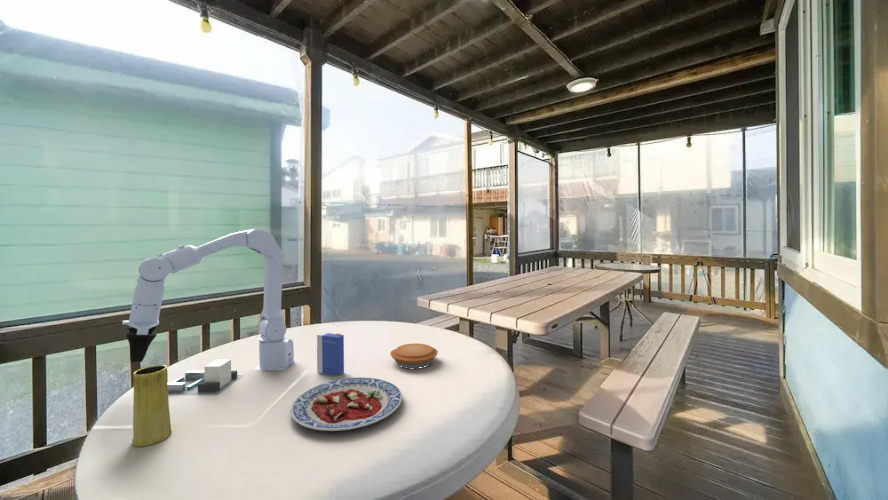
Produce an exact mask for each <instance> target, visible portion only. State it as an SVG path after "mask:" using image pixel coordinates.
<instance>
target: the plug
mask: <svg viewBox="0 0 888 500" xmlns="http://www.w3.org/2000/svg"><path fill="white" fill-rule="evenodd" d="M203 371H205V382H220V388H221V387H223V386H224V385H225V384H227V383H228V382H230V381H231V371H232V360H231V359H215V360H212V362H209V363H208V364H206V365H204V370H203Z"/></svg>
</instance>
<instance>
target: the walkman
mask: <svg viewBox="0 0 888 500" xmlns="http://www.w3.org/2000/svg"><path fill="white" fill-rule="evenodd" d="M344 338H345V337H344V334H341V333H340V332H339V333H330V332H320V333H318V334H316V373H319V374H324V375H330V376H331V375H332V376H338V377H340V375H342V374H344V373H345V346H344V345H345V341H344V340H345V339H344Z"/></svg>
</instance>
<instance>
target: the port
mask: <svg viewBox="0 0 888 500" xmlns="http://www.w3.org/2000/svg"><path fill="white" fill-rule="evenodd" d="M184 378H185V380H191V379H199V380H198V381H196V382H194V383H192V384H191V385H189V386H187V390H190V389H192V388H194V387H195V386H197V385H198V384H199V383H201V382H203V381H205V371H204V370H187V371H186V372H184V376H180V377H178V378H176V379H175V380H173V381H171V382H168V392H183V391H185V390H186V382H182V383H179V382H181V381H182V380H184Z"/></svg>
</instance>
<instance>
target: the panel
mask: <svg viewBox="0 0 888 500" xmlns="http://www.w3.org/2000/svg"><path fill="white" fill-rule="evenodd" d="M243 377H244V375H242V374H241V375H240V374H239V375H238V374H237V378H236V379H231V381H230V382H228V383H227V384H225V385H224V386H223V387H221V388H220V390H219V391H217V392H198V385H197V386H195V387H194V388H192V389H190V390H187V386H189V385H191V384H192V383H194V382H196V381H198V380H199V379H191V380H185V377H184V380H182V381H181V382H179V383H182V382H186V390H185V391H183V392H168V396H173V395H174V396H185V395H187V396H188V395H193V396H194V395H197V396H198V395H199V396H200V395H211V396H213V395H219V394H220V393H221V392H223V391H224V390H226V389H227V388H228V387H229V386H232V384H234V383H236V382H237V381H238V380H239V379H241V378H243ZM203 382H205V381H203Z"/></svg>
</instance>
